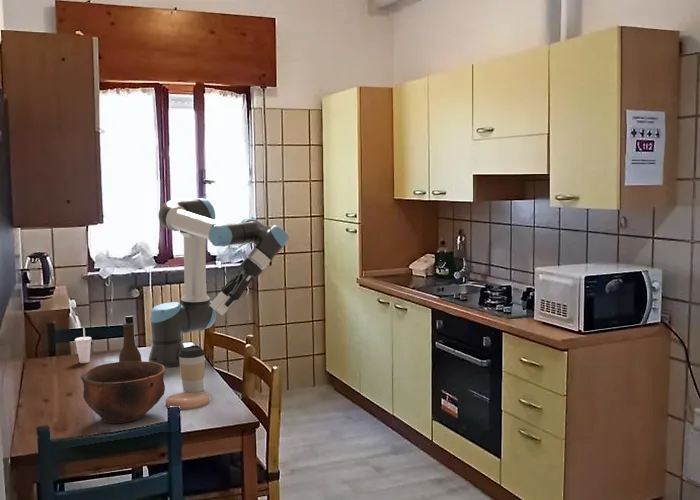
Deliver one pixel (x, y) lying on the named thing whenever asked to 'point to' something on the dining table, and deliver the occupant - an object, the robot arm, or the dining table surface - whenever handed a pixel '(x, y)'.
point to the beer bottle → (129, 345)
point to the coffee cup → (192, 368)
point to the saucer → (188, 400)
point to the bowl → (123, 389)
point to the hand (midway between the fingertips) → (215, 310)
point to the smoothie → (83, 348)
